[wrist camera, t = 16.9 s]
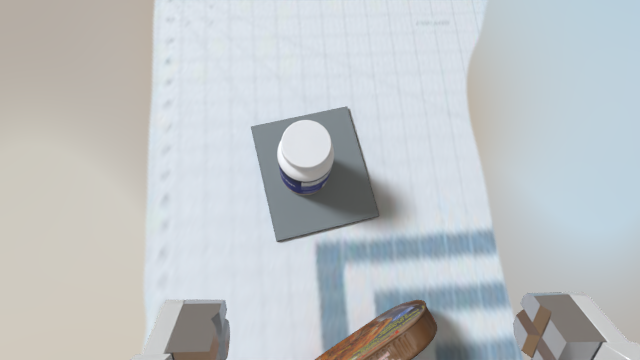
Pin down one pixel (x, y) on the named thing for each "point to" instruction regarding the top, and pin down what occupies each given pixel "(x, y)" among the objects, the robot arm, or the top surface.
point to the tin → (389, 336)
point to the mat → (338, 193)
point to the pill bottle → (305, 157)
